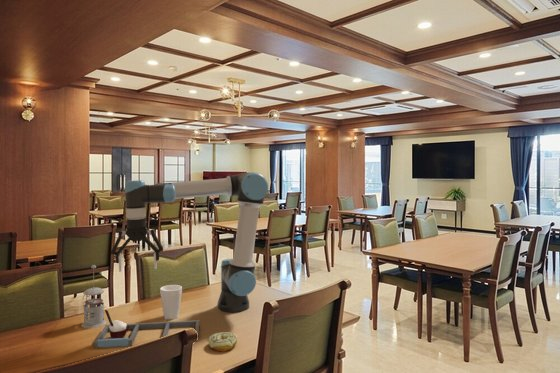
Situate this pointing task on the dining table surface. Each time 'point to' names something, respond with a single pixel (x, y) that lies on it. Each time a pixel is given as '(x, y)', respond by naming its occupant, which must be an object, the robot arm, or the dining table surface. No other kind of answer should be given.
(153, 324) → the organizer
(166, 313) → the foam cup
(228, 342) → the decorated donut
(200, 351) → the dining table surface
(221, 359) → the dining table surface
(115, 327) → the cocoa
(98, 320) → the french press
